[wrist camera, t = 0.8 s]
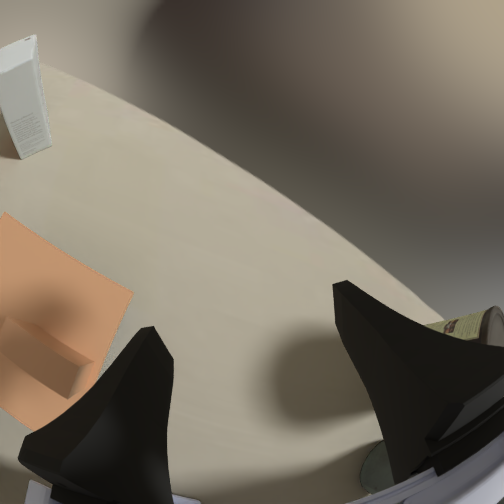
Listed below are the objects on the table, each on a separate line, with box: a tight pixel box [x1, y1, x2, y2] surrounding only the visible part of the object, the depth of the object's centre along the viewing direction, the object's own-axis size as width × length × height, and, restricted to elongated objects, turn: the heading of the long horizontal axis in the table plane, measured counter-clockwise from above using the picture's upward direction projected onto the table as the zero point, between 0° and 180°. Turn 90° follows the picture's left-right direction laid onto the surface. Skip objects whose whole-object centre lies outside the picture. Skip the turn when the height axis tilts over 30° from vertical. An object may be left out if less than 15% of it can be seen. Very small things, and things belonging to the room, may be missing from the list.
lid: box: [0, 212, 134, 431], centre depth 11 cm, size 13×13×6 cm
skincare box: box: [0, 34, 52, 159], centre depth 16 cm, size 6×4×12 cm
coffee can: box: [424, 306, 504, 347], centre depth 24 cm, size 10×10×14 cm
